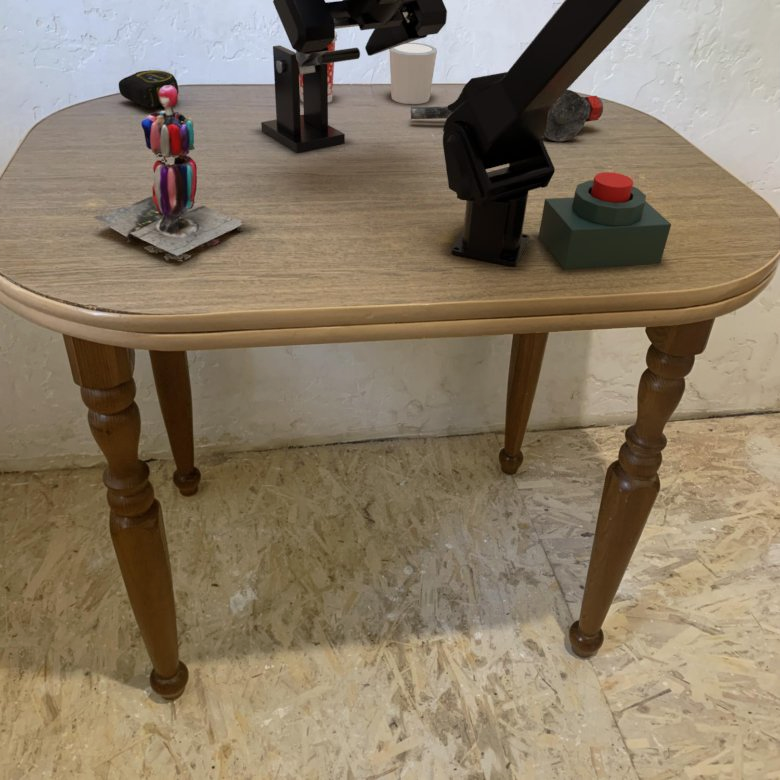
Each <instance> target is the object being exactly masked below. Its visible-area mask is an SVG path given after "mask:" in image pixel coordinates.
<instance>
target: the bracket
mask: <svg viewBox="0 0 780 780" xmlns="http://www.w3.org/2000/svg"><path fill="white" fill-rule="evenodd" d="M272 56H273V57H272V58H273V75H274V77H273V78H274V95H275V96H274V97H275V117H276V118H275V119H271V120H266V121H265V120H264V121H261V123H260V125H261V126H260V127H261V132H262V133H263V134H265V135H267V136H268V137H270V138H272V139H273V140H275V141H277V142H278V143H279V144H281V145H283V146H285V147H286V148H288V149H289V150H291V151H293V152H294V153H296V154H301V153H306V152H309V151H314V150H319V149H323V148H328V147H333V146H338V145H342V144H345V143H346V141H345V139H346V136H345V135H346V134H345V133H343V132H342V131H340V130H339V129H337V128H334V127H333V126H331V125H330V124H329V103H328V70H327V64H321V65H315V71H316V72H313V73H307V74H303V102H302V104H303V105H302V106H303V114H301V99H300V89H299V64H298V61H297V59H296V51H293V50H291V49H290V48H287V47H284V46H283V45H273V46H272Z"/></svg>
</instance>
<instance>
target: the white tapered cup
mask: <svg viewBox="0 0 780 780" xmlns="http://www.w3.org/2000/svg"><path fill="white" fill-rule="evenodd" d="M437 49H438V48H437V47H435V46H434V45H430V44H426V43H419V42H409V43H406V44H403V45H400V46H397V47H393V48H391V49H388V50H389V53H388V54H389V71H390V73H389V74H390V88H391V89H390V93H391V94H390V95H391V100H393V101H394V102H397V103H399V104H405V105H420V104H421V105H422V104H426V103H427V102H429V101H430V99H431V92H432V85H433V79H434V78H433V77H434V72H435V67H436V60H437V53H438V50H437Z"/></svg>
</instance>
